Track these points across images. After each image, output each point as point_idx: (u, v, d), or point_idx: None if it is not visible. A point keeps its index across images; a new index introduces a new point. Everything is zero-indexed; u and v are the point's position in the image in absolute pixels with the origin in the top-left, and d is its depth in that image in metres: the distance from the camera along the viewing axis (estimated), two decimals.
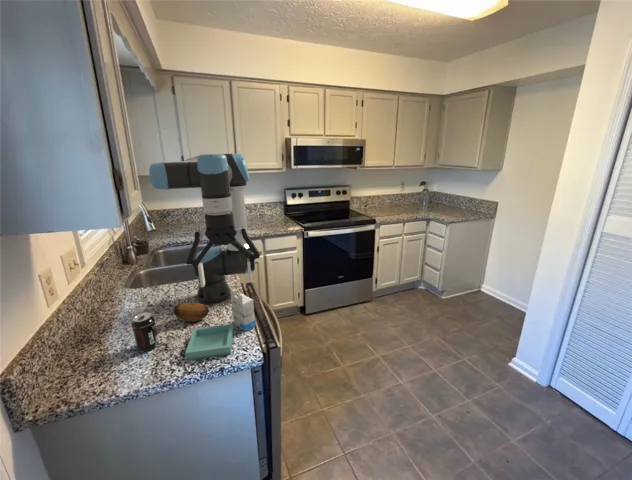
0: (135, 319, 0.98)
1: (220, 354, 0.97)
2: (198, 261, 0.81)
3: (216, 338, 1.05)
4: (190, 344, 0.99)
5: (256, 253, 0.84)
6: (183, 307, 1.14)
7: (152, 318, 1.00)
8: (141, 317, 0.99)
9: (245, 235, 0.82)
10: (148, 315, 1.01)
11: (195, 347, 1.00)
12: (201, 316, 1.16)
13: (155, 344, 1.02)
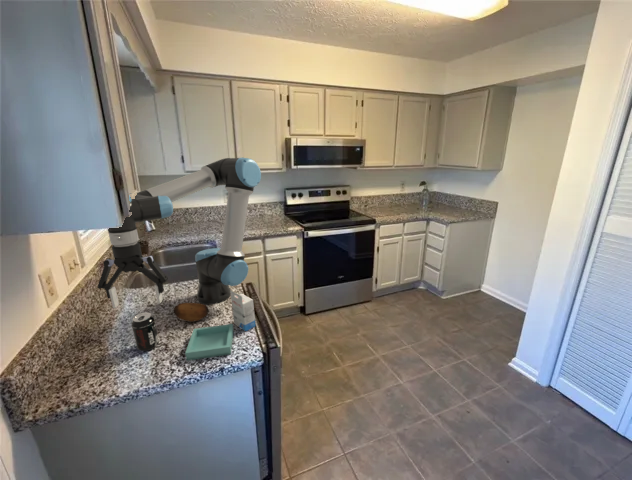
0: (135, 319, 0.98)
1: (220, 354, 0.97)
2: (109, 285, 0.93)
3: (216, 338, 1.05)
4: (190, 344, 0.99)
5: (162, 278, 0.96)
6: (183, 307, 1.14)
7: (152, 318, 1.00)
8: (141, 317, 0.99)
9: (150, 263, 0.94)
10: (148, 315, 1.01)
11: (195, 347, 1.00)
12: (201, 316, 1.16)
13: (155, 344, 1.02)
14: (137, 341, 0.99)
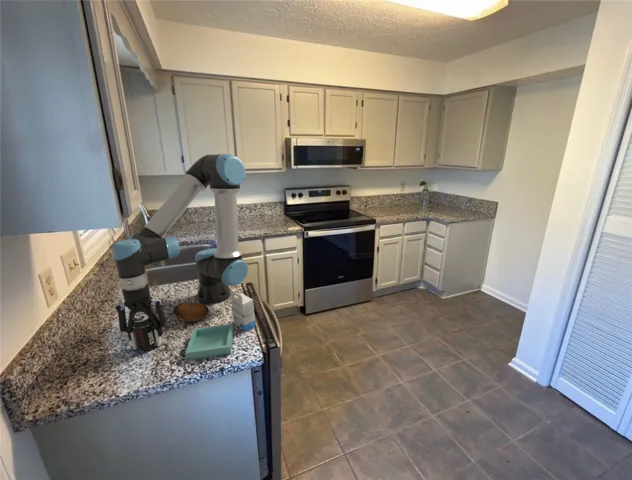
0: (135, 319, 0.98)
1: (220, 354, 0.97)
2: (129, 328, 0.98)
3: (216, 338, 1.05)
4: (190, 344, 0.99)
5: (162, 323, 1.00)
6: (183, 307, 1.14)
7: None
8: (141, 317, 0.99)
9: (158, 307, 0.98)
10: None
11: (195, 347, 1.00)
12: (201, 316, 1.16)
13: (155, 344, 1.02)
14: (137, 341, 0.99)
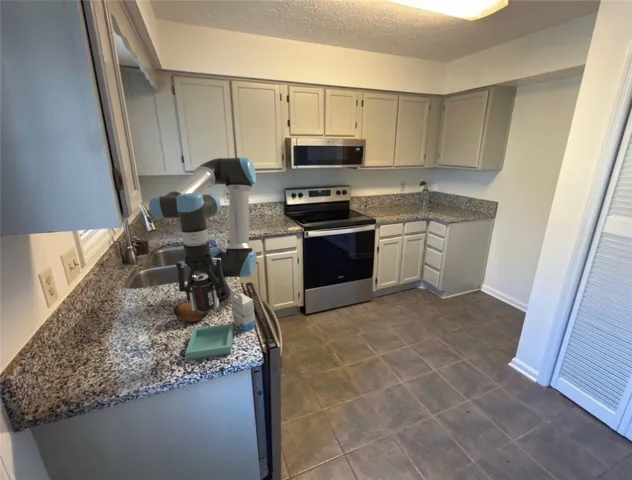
0: (194, 278, 0.94)
1: (220, 354, 0.97)
2: (188, 288, 0.95)
3: (216, 338, 1.05)
4: (190, 344, 0.99)
5: (222, 283, 0.96)
6: (183, 307, 1.14)
7: None
8: (200, 276, 0.95)
9: (218, 265, 0.94)
10: (207, 275, 0.96)
11: (195, 347, 1.00)
12: (201, 316, 1.16)
13: (214, 306, 0.97)
14: (196, 301, 0.95)
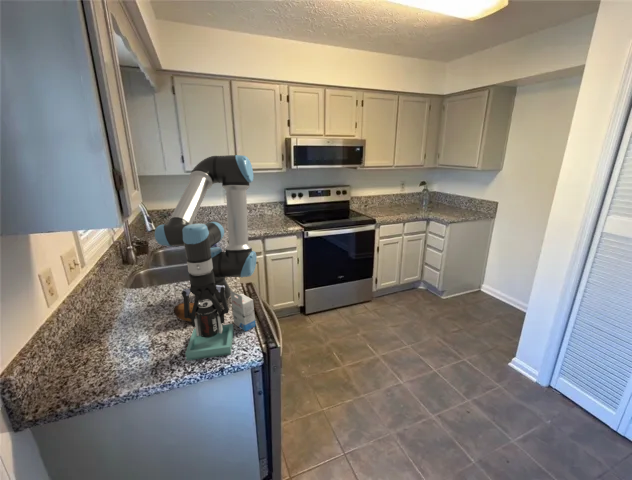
0: (199, 305, 0.97)
1: (220, 354, 0.97)
2: (193, 315, 0.97)
3: (216, 338, 1.05)
4: (190, 344, 0.99)
5: (226, 309, 0.99)
6: (183, 307, 1.14)
7: None
8: (205, 303, 0.98)
9: (222, 293, 0.97)
10: (211, 302, 0.99)
11: (195, 347, 1.00)
12: None
13: (218, 331, 1.00)
14: (201, 328, 0.97)
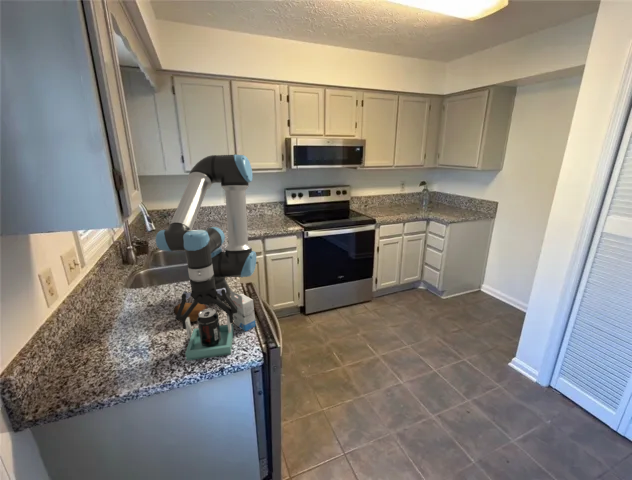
0: (201, 315, 0.98)
1: (220, 354, 0.97)
2: (185, 317, 0.97)
3: None
4: (190, 344, 0.99)
5: (234, 309, 1.00)
6: None
7: (216, 314, 1.00)
8: (206, 313, 0.99)
9: (224, 295, 0.98)
10: (212, 311, 1.00)
11: (195, 347, 1.00)
12: None
13: (219, 340, 1.01)
14: (202, 337, 0.98)
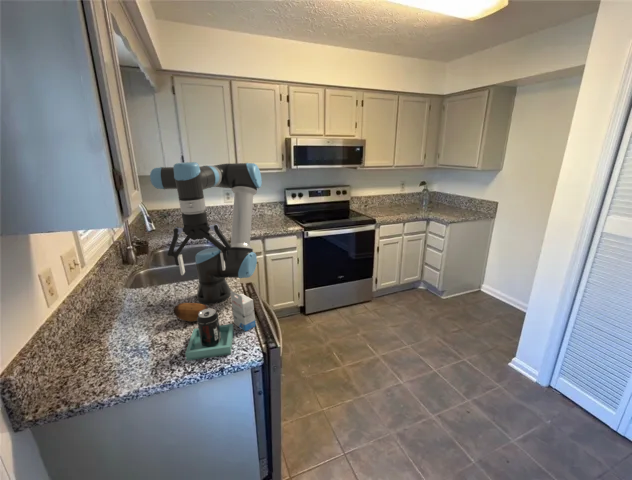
0: (201, 315, 0.98)
1: (220, 354, 0.97)
2: (177, 253, 0.96)
3: None
4: (190, 344, 0.99)
5: (227, 246, 0.99)
6: (183, 307, 1.14)
7: (216, 314, 1.00)
8: (206, 313, 0.99)
9: (217, 230, 0.97)
10: (212, 311, 1.00)
11: (195, 347, 1.00)
12: None
13: (219, 340, 1.01)
14: (202, 337, 0.98)
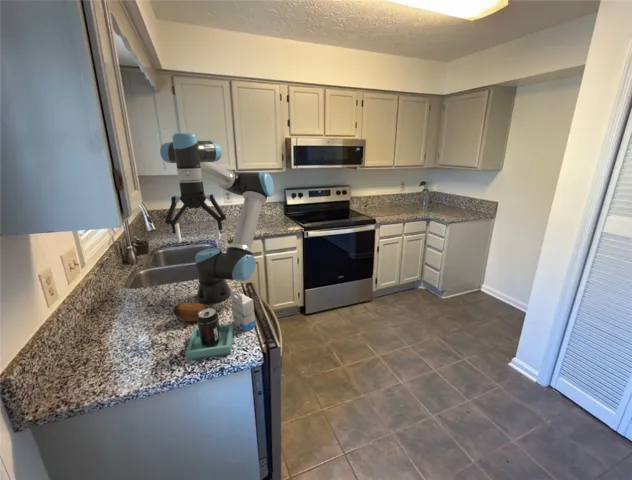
0: (201, 315, 0.98)
1: (220, 354, 0.97)
2: (175, 221, 1.01)
3: None
4: (190, 344, 0.99)
5: (222, 215, 1.04)
6: (183, 307, 1.14)
7: (216, 314, 1.00)
8: (206, 313, 0.99)
9: (213, 200, 1.02)
10: (212, 311, 1.00)
11: (195, 347, 1.00)
12: None
13: (219, 340, 1.01)
14: (202, 337, 0.98)
